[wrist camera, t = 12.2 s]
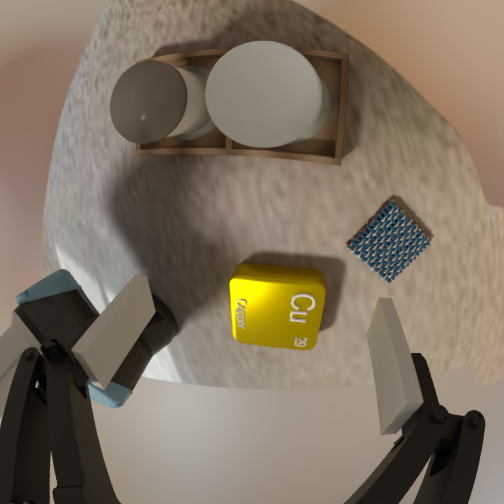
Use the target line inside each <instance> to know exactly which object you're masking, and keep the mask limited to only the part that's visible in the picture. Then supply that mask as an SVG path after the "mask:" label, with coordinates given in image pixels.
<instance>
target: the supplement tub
mask: <svg viewBox="0 0 504 504" xmlns="http://www.w3.org/2000/svg"><path fill="white" fill-rule="evenodd" d="M205 100H206V106H207V110H208V113H209V115H210V117H211V119H212V121H213V122H214V124H215V125H216V126H217V127H218V129H219V130H220V131H221V132H222V133H224V134H225V135H226V136H227V137H229V138H231V139H232V140H234V141H236V142H238V143H240V144H243V145H247V146H251V147H258V148H270V147H277V146H282V145H285V144H288V143H290V142H292V141H294V140H296V139H298V138H299V137H301V136H302V135H303V134H305V133H306V132H307V131H308V130H309V129H310V128H311V127H312V125H313V124H314V123H315V121H316V119H317V117H318V115H319V112H320V109H321V105H322V87H321V83H320V80H319V77H318V75H317V73H316V71H315V69H314V67H313V66H312V65H311V64H310V62H309V61H308V60H307V59H306V58H305V57H304V56H303V55H302V54H301V53H299V52H298V51H297V50H295V49H293V48H291V47H290V46H287V45H285V44H282V43H278V42H274V41H252V42H248V43H244V44H242V45H239V46H237V47H235V48H233V49H231V50H230V51H228V52H227V53H226V54H224V55H223V56H222V57H221V58H220V59H219V60H218V61H217V62H216V64H215V65H214V67H213V68H212V70H211V72H210V74H209V76H208V79H207V83H206V89H205Z"/></svg>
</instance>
